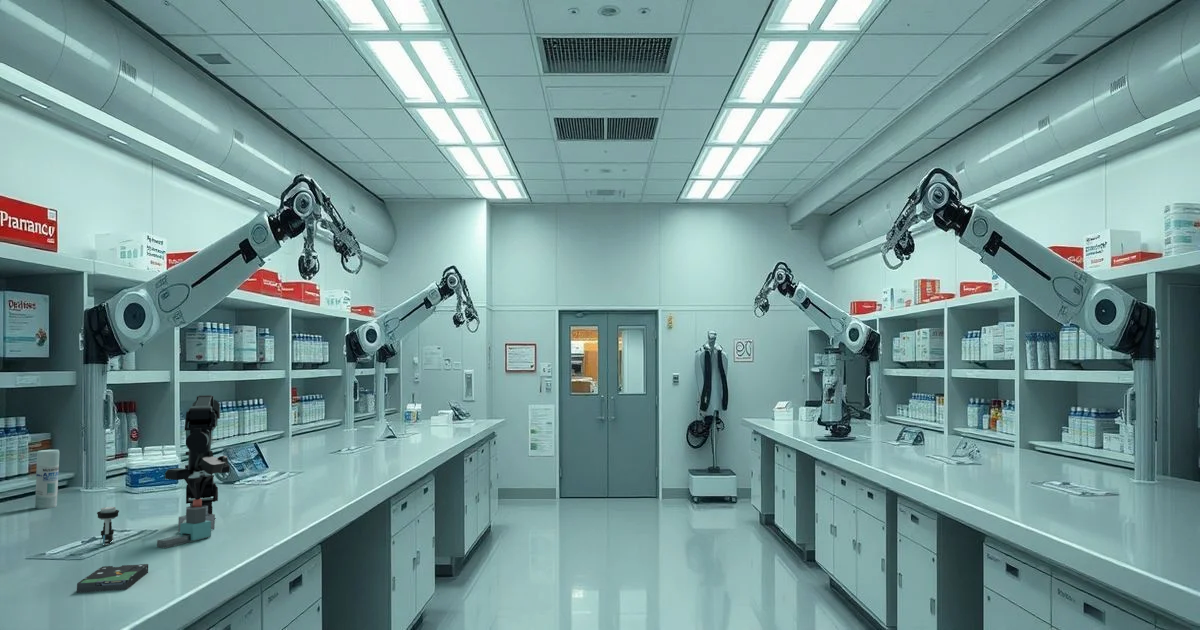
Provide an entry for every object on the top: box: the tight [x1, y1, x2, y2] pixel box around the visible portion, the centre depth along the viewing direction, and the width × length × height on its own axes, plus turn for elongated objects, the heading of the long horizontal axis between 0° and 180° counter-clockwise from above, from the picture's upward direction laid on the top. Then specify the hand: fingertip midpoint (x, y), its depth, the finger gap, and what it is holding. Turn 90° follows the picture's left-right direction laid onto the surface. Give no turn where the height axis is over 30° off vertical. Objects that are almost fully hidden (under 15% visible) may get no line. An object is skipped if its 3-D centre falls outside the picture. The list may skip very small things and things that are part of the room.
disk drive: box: [76, 563, 149, 594], centre depth 178 cm, size 10×3×15 cm
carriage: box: [179, 507, 212, 542], centre depth 221 cm, size 6×5×8 cm
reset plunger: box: [193, 498, 202, 507], centre depth 233 cm, size 2×2×2 cm
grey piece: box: [177, 505, 216, 533], centre depth 233 cm, size 7×7×7 cm
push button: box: [96, 506, 120, 546], centre depth 215 cm, size 7×5×10 cm
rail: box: [156, 533, 212, 549], centre depth 218 cm, size 15×3×2 cm, turn 157°
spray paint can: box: [34, 449, 61, 510], centre depth 271 cm, size 6×6×20 cm
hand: (197, 499), depth 233 cm, fingers closed, pressing on reset plunger
